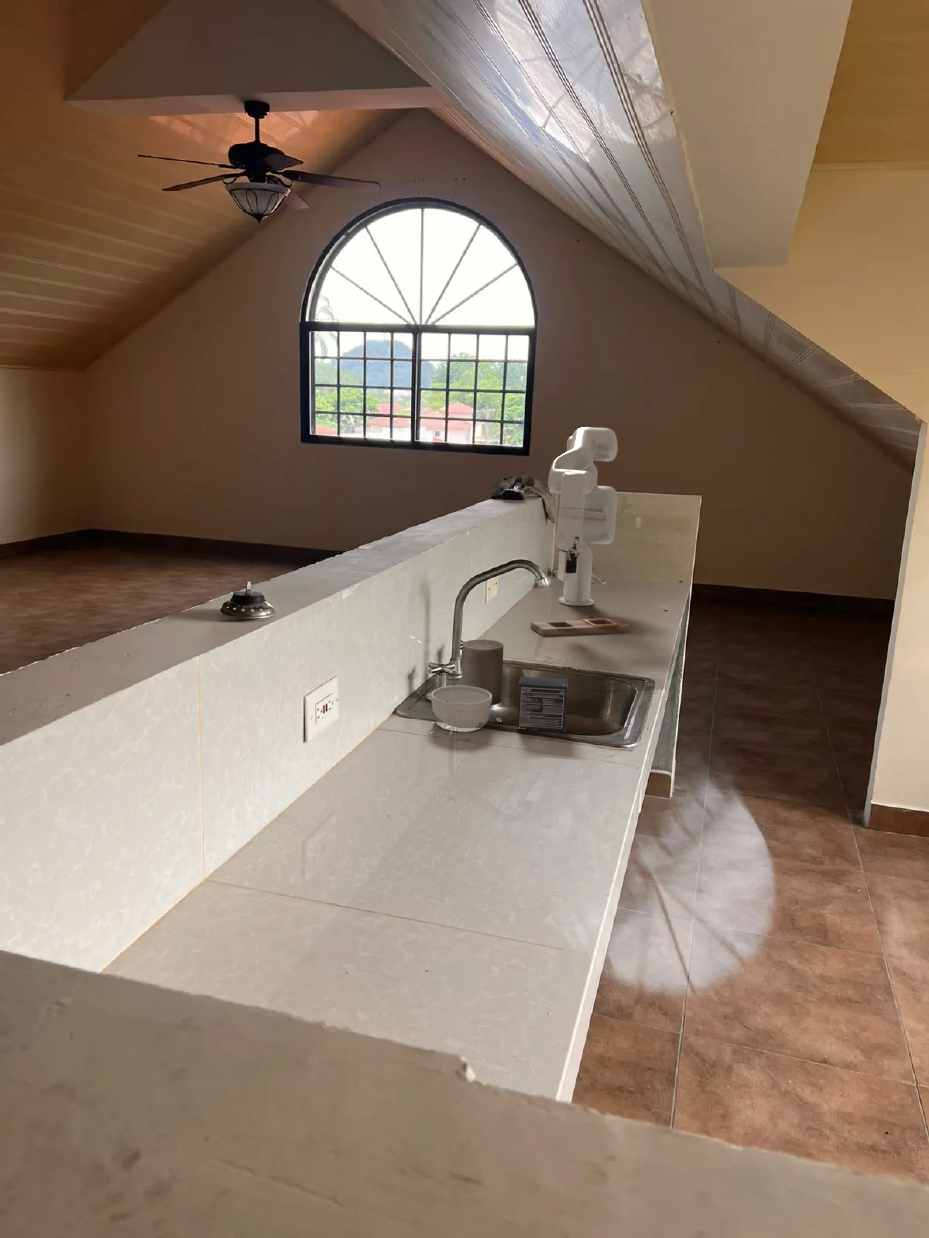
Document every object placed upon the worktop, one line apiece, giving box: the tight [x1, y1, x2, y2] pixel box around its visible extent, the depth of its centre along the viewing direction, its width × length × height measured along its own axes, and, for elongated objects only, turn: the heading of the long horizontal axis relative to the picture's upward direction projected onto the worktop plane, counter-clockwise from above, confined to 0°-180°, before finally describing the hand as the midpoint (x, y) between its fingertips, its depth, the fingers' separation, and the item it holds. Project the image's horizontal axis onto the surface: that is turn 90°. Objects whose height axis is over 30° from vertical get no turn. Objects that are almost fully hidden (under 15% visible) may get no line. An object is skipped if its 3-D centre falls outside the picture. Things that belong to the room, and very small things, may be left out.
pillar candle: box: [461, 638, 504, 706], centre depth 212 cm, size 10×10×15 cm
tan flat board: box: [530, 617, 631, 637], centre depth 287 cm, size 10×30×2 cm, turn 108°
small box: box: [516, 676, 569, 733], centre depth 197 cm, size 11×6×10 cm, turn 84°
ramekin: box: [430, 684, 492, 728], centre depth 196 cm, size 13×13×7 cm
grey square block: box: [557, 551, 578, 583], centre depth 281 cm, size 4×4×9 cm
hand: (567, 571), depth 282 cm, fingers closed on grey square block, 4 cm apart
